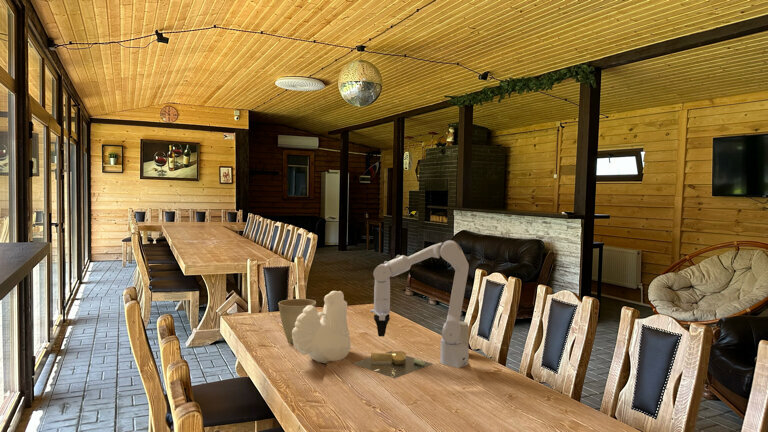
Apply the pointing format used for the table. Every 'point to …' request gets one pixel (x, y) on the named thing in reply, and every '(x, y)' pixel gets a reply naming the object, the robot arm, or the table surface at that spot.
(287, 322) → the plant pot
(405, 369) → the base plate
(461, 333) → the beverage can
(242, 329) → the table surface
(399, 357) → the brass door handle
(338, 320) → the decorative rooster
